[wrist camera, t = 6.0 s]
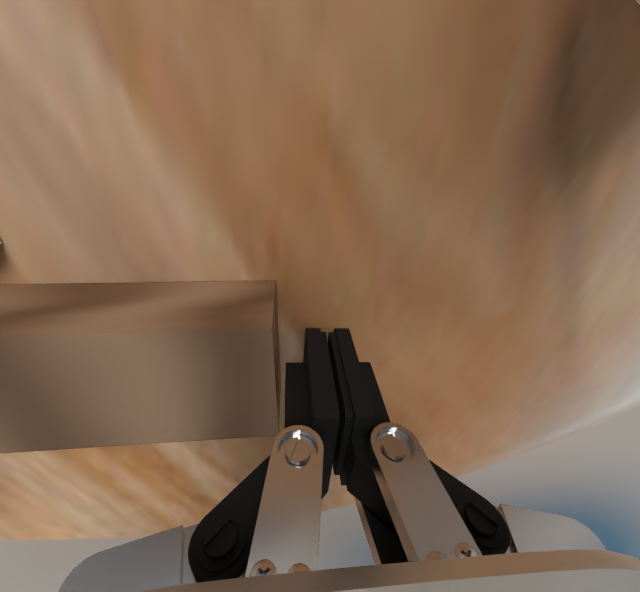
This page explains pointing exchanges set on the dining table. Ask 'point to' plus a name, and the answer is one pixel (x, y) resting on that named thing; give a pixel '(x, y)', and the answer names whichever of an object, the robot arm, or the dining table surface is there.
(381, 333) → the dining table surface
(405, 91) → the dining table surface
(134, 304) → the walnut slat
